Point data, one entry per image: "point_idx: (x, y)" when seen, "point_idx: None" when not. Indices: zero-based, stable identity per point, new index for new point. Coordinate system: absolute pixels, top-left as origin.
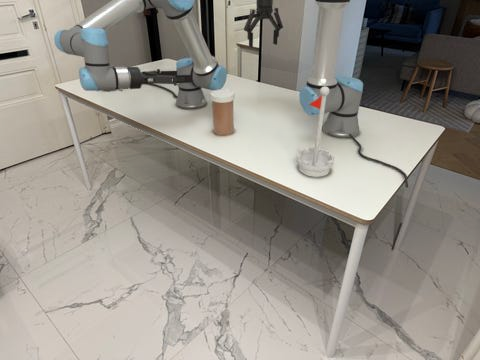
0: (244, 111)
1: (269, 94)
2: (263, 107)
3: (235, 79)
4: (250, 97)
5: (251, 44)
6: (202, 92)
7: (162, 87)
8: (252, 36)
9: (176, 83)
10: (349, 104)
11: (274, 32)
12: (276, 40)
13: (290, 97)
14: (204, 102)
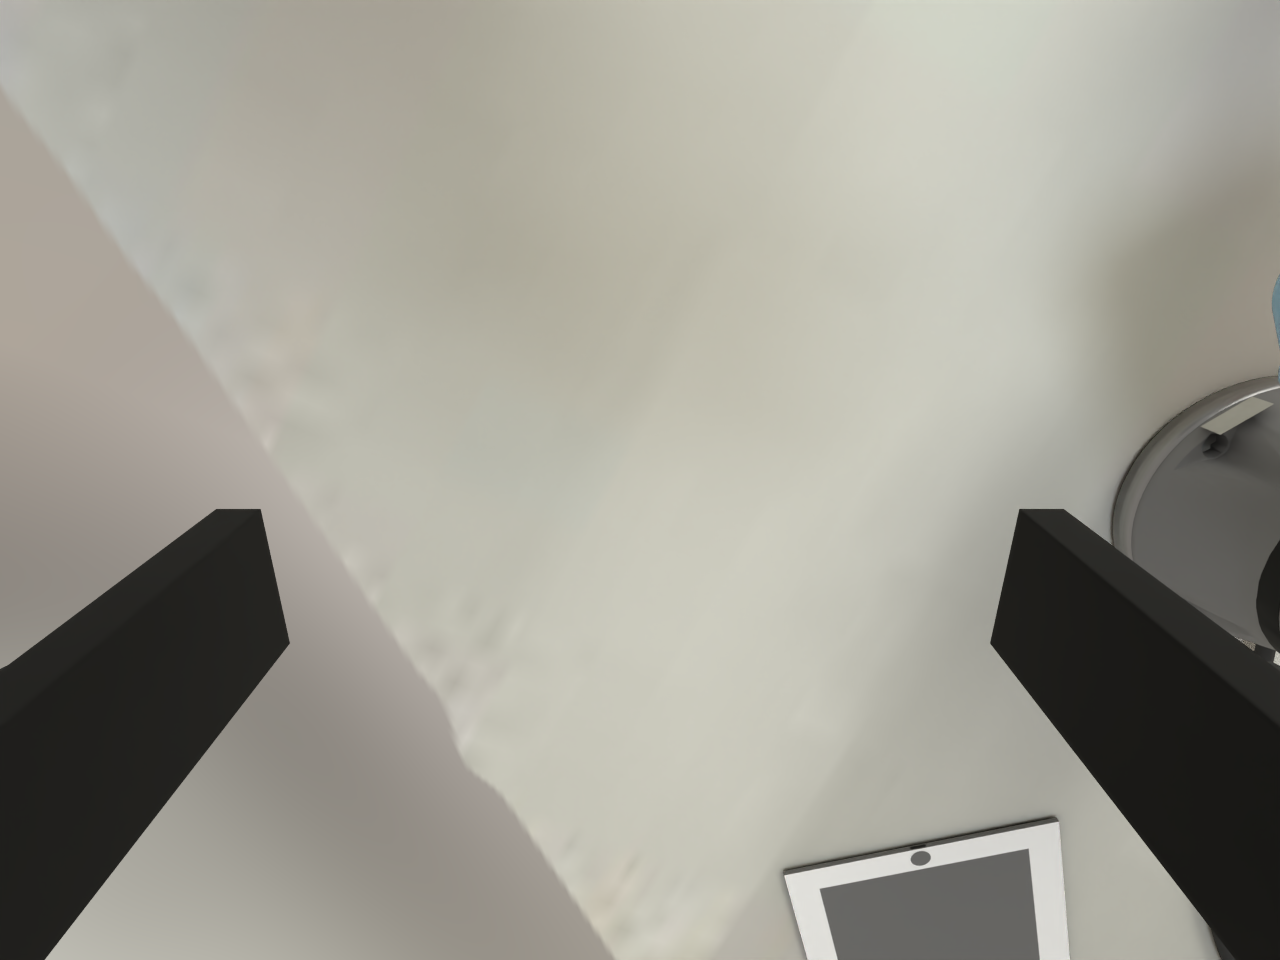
0: (951, 99)
1: (489, 428)
2: (721, 115)
3: (597, 860)
4: (696, 432)
5: (1106, 545)
6: (1248, 496)
7: None
8: (1267, 697)
9: (1066, 928)
10: None
11: (52, 867)
12: (175, 563)
13: (323, 260)
14: (1198, 422)
